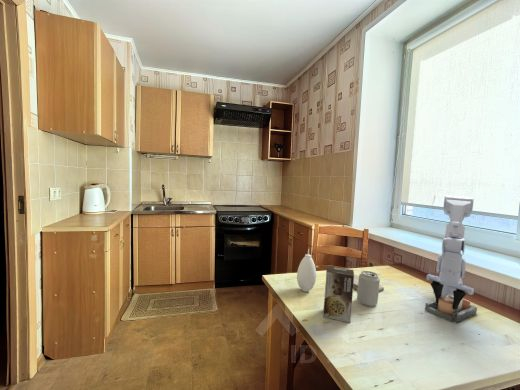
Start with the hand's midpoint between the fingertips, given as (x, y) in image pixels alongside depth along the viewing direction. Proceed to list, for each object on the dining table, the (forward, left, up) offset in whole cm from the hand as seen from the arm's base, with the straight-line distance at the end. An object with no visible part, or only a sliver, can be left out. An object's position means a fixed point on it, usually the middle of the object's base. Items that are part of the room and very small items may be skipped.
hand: (446, 305), depth 95 cm
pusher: (-10, 0, -3) cm, 10 cm away
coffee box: (+40, -16, -3) cm, 44 cm away
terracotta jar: (0, 0, -3) cm, 3 cm away
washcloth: (+9, -31, -4) cm, 33 cm away
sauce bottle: (+37, -36, -3) cm, 52 cm away
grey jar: (-6, 0, -3) cm, 7 cm away
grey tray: (-4, 0, -3) cm, 5 cm away
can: (+21, -18, -3) cm, 28 cm away
